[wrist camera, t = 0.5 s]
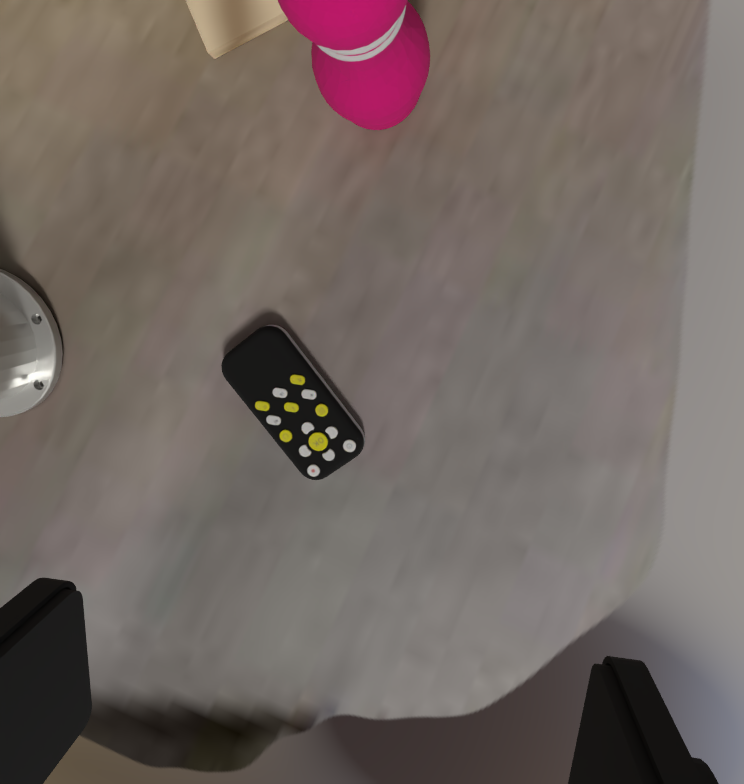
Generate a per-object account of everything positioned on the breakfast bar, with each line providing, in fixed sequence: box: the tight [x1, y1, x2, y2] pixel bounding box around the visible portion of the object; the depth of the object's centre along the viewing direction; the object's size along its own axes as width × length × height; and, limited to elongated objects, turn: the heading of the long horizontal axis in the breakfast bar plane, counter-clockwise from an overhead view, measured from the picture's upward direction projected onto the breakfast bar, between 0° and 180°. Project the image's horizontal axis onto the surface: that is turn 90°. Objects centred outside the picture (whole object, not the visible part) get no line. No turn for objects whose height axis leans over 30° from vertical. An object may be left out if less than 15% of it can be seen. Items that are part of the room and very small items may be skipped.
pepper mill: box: [278, 0, 430, 130], centre depth 28 cm, size 7×7×20 cm
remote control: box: [222, 325, 365, 480], centre depth 43 cm, size 6×13×2 cm, turn 37°
